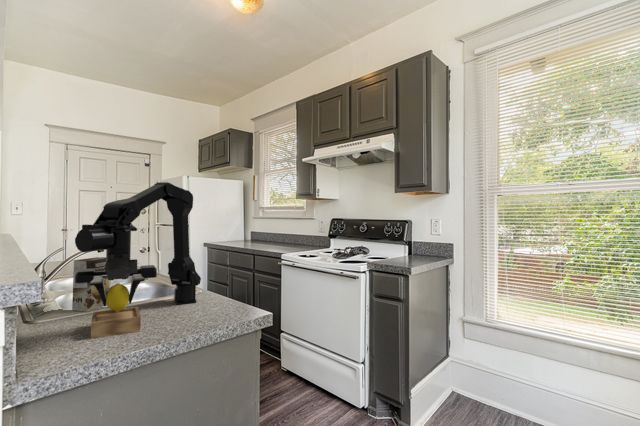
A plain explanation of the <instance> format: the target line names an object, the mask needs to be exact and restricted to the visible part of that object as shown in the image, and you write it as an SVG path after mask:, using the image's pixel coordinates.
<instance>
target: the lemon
mask: <svg viewBox="0 0 640 426" xmlns="http://www.w3.org/2000/svg"><path fill="white" fill-rule="evenodd" d="M129 294H130V290H129V289H128V287H127V286H125V285H124V284H121V283H119V282H118V283H116V284H114V285H111V288H110V289H109V290H108V292H107V295H106V304H107V306H106V307H108V309H109V310H114V311H116V312H119V311H120V310H121V309H123V308H127V305H128V304H129Z"/></svg>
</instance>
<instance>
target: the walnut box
mask: <svg viewBox="0 0 640 426" xmlns="http://www.w3.org/2000/svg"><path fill="white" fill-rule="evenodd" d="M91 317H92V318H91V323H90V340H91V339H99V338H105V337H111V336H118V335H119V336H121V335H124V334H133V333H139V332H141V322H142V321H141V318H142V317H141V313H140V308H139V306H132V307H125V308H123V309H121V310H120V311H119V312H116V311H114V310H111V309H105V310H96V311H93V312H92V316H91Z"/></svg>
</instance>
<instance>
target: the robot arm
mask: <svg viewBox="0 0 640 426" xmlns="http://www.w3.org/2000/svg"><path fill="white" fill-rule="evenodd" d="M160 200H162V201H164V202H166V206H167V210H168V211H169V213H170V214H171V216H172V230H173V231H172V232H173V233H172V235H173V236H172V237H173V258H172V260H171V262H168V263H167V269H168V272H167V275H168V276H169V280H170V283H171V286H173V285H175V288H174V289H173V301H174V302H175V303H176V304H177V305H185V304H192V303H193V304H194V303H197V302H198V301H197V300H196V290H197V286H199V285H200V283H201V280H202V278H201V276H200V275H199V273H198V272H197V271H196V266H195V262H194V260H193V259H192V257H191V255H190V232H189V231H190V229H189V215H190V213H191V211H192V209H193V207H194V206H193V205H194V195H193V193H191V191H190V190H187V189H184V188H182V187H179V186H176V185H174V184H172V183H170V182H168V181H166V182H165V181H163V182H160V181H159V182H156V183H154V185H152V186H149V187H148V188H146V189H144V190H142V191H140V192H139V193H137V194H134V195H132V196H131V197H128V198H124V199H123V198H122V199H118V200H113V201H111V202H107V203H106V204H105V205H103V209H102V211H101V212H100V214H99V215H98V217H97V219H95V221H94V223H93V224H82V225H81V229H80V230H78V232H77V234H76V236H75V238H74V243H75V247H76V249H77V250H78V251H79V252H82V253H88V252H89V253H90V252H97V251H99V252H100V251H106V252H105V253H106V254H105V255H106V256H105V257H106V265H105V271H96V272H95V268H93V269H80V270H78V271H77V273H76V275H75V283H89V282H90V285H94V286H95V287H96V289H97V290H98V292H99V294H100V297H101V299H102V302H103V305H104V307H107V306H106V294H105V286H104V279H103V278H107V279H108V280H111V281H114V280H128V279H129V277H131V281H130V283H131V284H130V289H129V302H128V304H129V305H130V304H131V303H132V301H133V298H134V295H135V293H136V291H137V288H138V287H139V285H140V284H141V282H145V281H146V279H152V278H154V279H155V278H157V277H158V273H157V272H158V270H157V267H156V266H155V265H154V264H149V265H148V264H147V265H140V266H139V267H140V268H138V259H137V258H136V259H131V254H132V252H131V249H132V247H131V245H132V244H131V242H132V240H131V239H132V238H131V237H132V232H137V231H138V228H137V227H136V226H135V225H133V223H132V222H134V221H136V219H137V218H138V217H140V215H141V213H142V211H143V210H144V209H146V208H148V207H150V206H151V205H153V204H155V203H157V202H158V201H160ZM104 307H103V308H104Z"/></svg>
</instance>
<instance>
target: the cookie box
mask: <svg viewBox="0 0 640 426" xmlns="http://www.w3.org/2000/svg"><path fill="white" fill-rule="evenodd" d="M105 265H106V256H105V257H104V256H103V257H102V256H101V257H97V256H95V257H90V258H89V257H88V258H82V259H74V260H73V272H72V273H73V275H72V276H73V277H72V281H73V282H72V299H71V300H72V301H71V304H72V305H71V310H72V311H79V312H87V313H88V312H91V311H93V310H98V309H100V308H104V305H103V302H102V299H101V297H100V294H99V292H98V290H97V289H96V287H95V286H94V285H90V282H89V283H75V275H76V273H77V271H78V270H80V269H93V268H95V272H96V271H105ZM103 279H104V286H105V294H106V295H107V292H108V290H109V289H110V288H111V287H112V280H108V279H107V278H103ZM106 307H108V306H107V304H106Z"/></svg>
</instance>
